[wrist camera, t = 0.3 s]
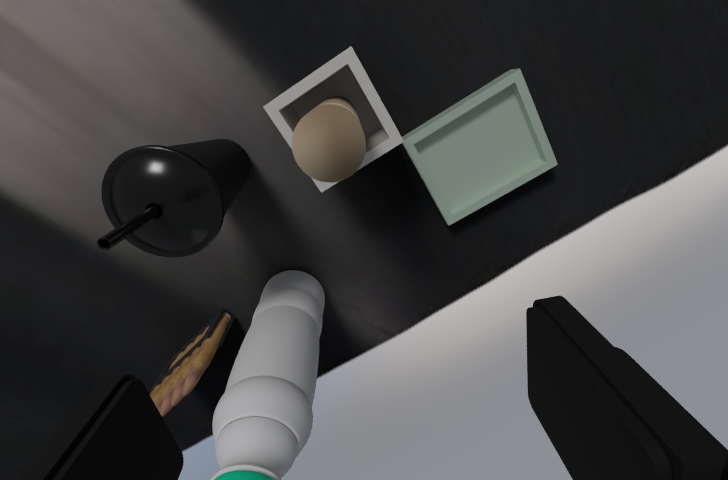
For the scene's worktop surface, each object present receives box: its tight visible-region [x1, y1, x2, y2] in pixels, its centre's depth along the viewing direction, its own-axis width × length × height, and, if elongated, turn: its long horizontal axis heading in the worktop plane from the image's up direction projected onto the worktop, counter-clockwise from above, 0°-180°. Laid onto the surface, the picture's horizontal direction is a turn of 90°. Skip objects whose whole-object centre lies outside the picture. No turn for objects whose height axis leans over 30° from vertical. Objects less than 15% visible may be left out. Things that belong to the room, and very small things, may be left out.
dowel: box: [292, 96, 366, 183], centre depth 26 cm, size 4×4×18 cm
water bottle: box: [211, 270, 325, 480], centre depth 31 cm, size 7×7×25 cm
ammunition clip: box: [150, 309, 235, 417], centre depth 39 cm, size 11×2×12 cm, turn 134°
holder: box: [263, 47, 404, 193], centre depth 32 cm, size 8×8×8 cm
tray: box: [402, 69, 558, 225], centre depth 36 cm, size 12×10×2 cm
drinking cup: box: [97, 139, 250, 257], centre depth 28 cm, size 8×8×20 cm
